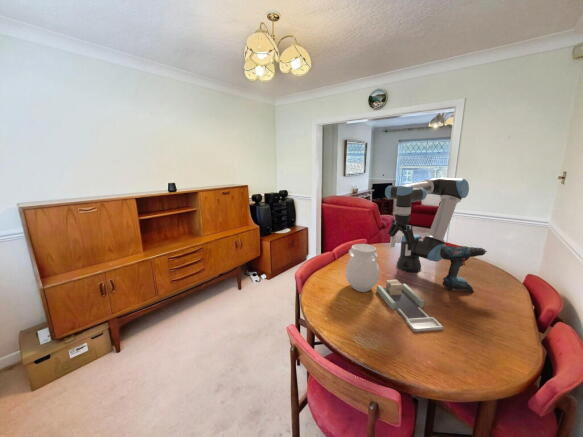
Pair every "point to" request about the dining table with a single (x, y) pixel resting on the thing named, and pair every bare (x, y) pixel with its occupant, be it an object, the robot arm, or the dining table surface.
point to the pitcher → (362, 267)
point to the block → (393, 287)
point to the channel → (404, 287)
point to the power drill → (458, 266)
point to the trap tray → (424, 324)
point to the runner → (407, 306)
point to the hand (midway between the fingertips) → (399, 251)
